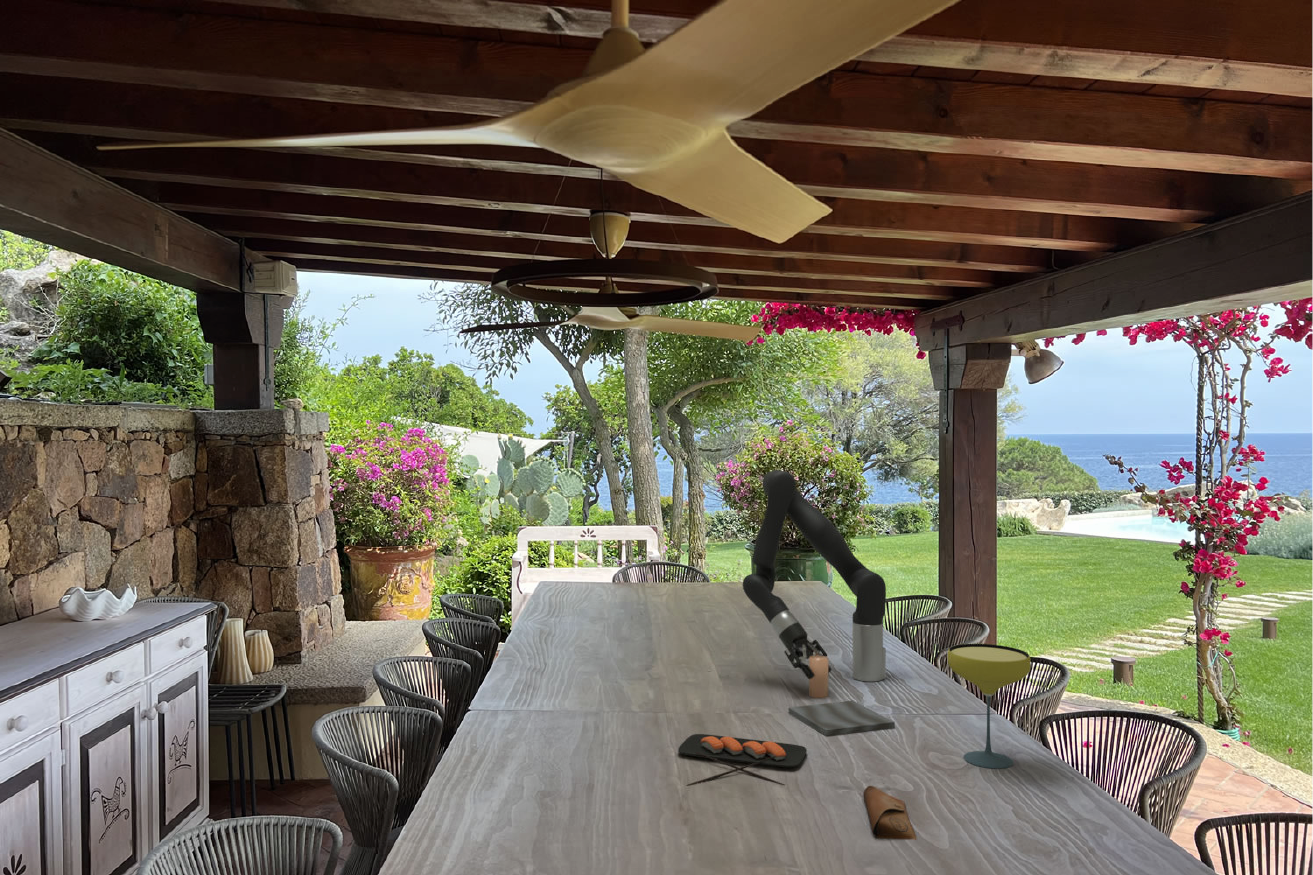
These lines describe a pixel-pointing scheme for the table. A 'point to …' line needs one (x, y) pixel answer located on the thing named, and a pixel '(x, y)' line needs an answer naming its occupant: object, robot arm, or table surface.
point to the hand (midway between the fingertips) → (820, 674)
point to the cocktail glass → (989, 684)
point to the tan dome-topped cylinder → (818, 676)
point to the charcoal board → (841, 718)
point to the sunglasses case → (887, 815)
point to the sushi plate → (742, 753)
